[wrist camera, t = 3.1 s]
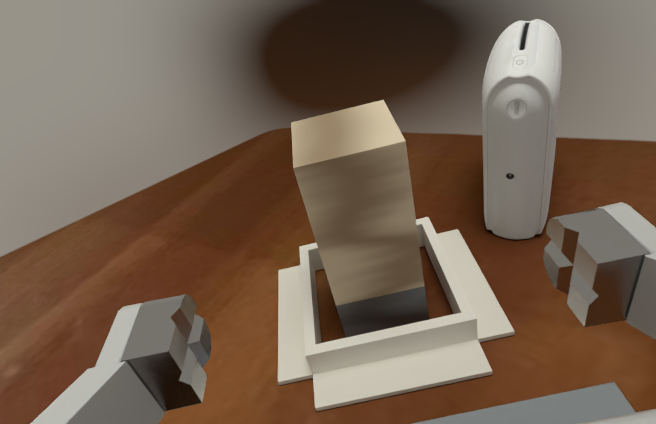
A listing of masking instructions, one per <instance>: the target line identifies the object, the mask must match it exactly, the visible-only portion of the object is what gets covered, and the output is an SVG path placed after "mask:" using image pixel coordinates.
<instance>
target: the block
mask: <svg viewBox="0 0 656 424" xmlns="http://www.w3.org/2000/svg"><path fill="white" fill-rule="evenodd" d="M291 128H292V150H293V169H294V172H295V175H296V178H297V182H298V185H299V188H300V191H301V194H302V198H303V201H304V204H305V207H306V211H307V214H308V217H309V220H310V224H311V227H312V230H313V233H314V237H315V240H316V243H317V246H318V249H319V253H320V256H321V259H322V262H323V266H324V269H325V272H326V275H327V279H328V282H329V285H330V288H331V292H332V295H333V298H334V301H335V304H336V308H337V311H338V314H339V317H340V321H341V324H342V327H343V330H344V334H345V337H346V338H347V337H352V336H356V335H361V334H365V333H370V332H375V331H379V330H384V329H388V328H393V327H398V326H402V325H407V324H411V323H416V322H420V321H425V320H429V316H428V308H427V301H426V293H425V285H424V278H423V270H422V263H421V255H420V247H419V240H418V232H417V225H416V217H415V210H414V202H413V194H412V187H411V179H410V172H409V164H408V156H407V149H406V141H405V139H404V137H403V136H402V134H401V132H400V130H399V128H398V126H397V124H396V122H395V121H394V119H393V117H392V115H391V113H390V111H389V109H388V108H387V106H386V104H385V102H384V100H381V101H377V102H373V103H369V104H365V105H361V106H357V107H352V108H348V109H344V110H341V111H336V112H332V113H329V114H324V115H320V116H316V117H312V118H308V119H304V120H300V121H296V122H292V123H291Z"/></svg>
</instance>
